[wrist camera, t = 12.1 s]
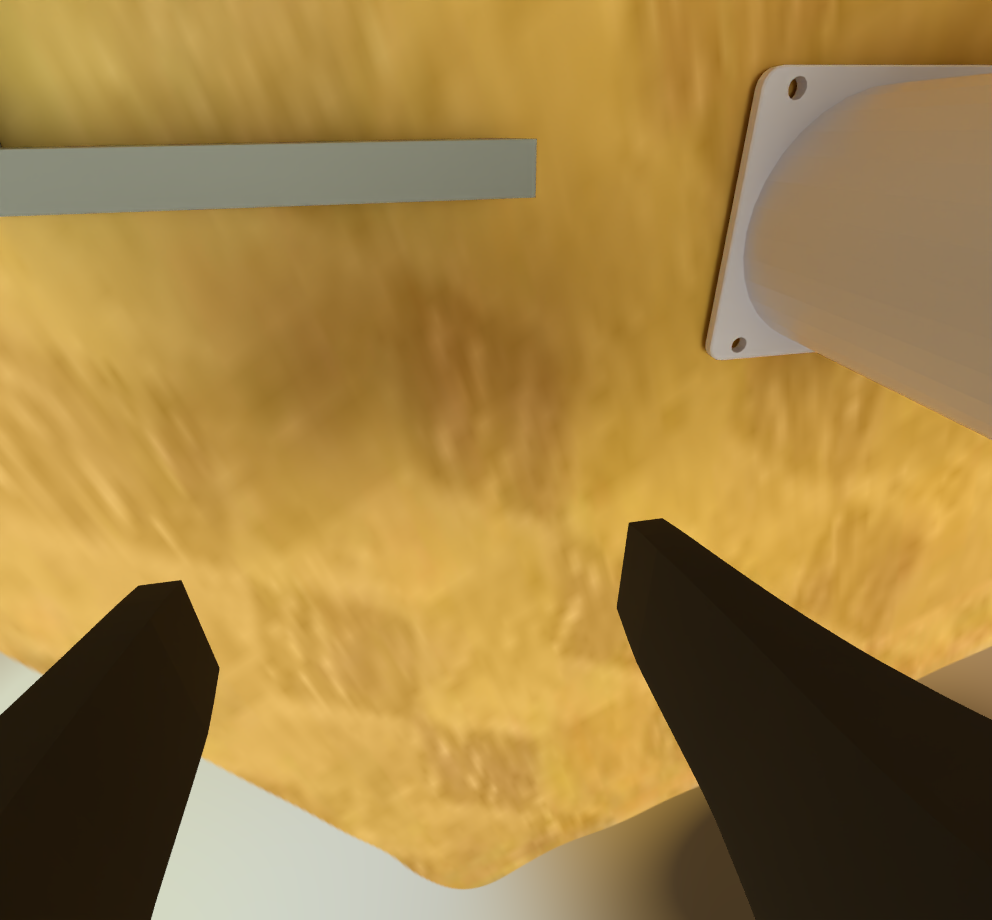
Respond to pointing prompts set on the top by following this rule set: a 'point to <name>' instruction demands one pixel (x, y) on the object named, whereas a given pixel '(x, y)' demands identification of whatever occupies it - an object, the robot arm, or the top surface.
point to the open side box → (261, 174)
